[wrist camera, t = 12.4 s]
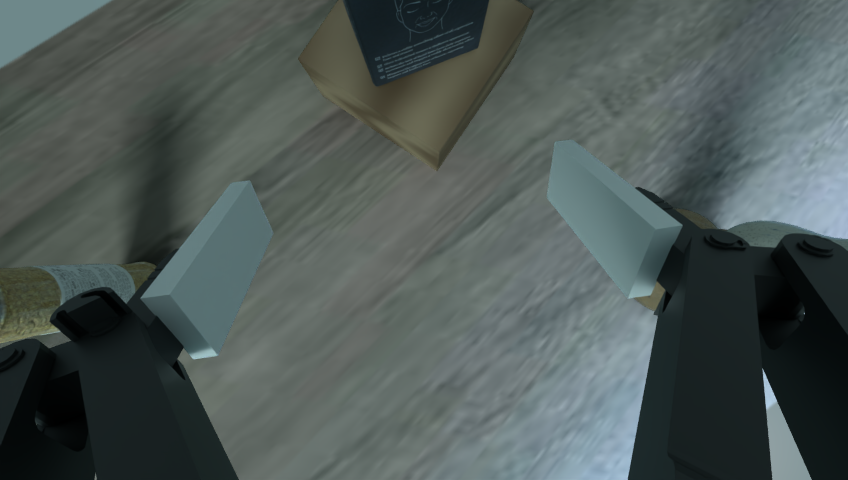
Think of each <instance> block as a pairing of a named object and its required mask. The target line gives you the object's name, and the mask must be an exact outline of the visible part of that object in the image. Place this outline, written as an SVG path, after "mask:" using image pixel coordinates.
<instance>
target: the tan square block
mask: <svg viewBox="0 0 848 480" xmlns="http://www.w3.org/2000/svg"><path fill="white" fill-rule="evenodd" d="M533 12H534V11H533V10H531V9H530V8H528V7H527V6H525V5H523V4H522V3H520V2H519V1H517V0H489V4H488V8H487V12H486V16H485V21H484V25H483V30H482V34H481V38H480V42H479V46H478V48H477V49H475V50H472V51H470V52H467V53H464V54H462V55H459V56H457V57H454V58H451V59H449V60H446V61H444V62H441V63H439V64H436V65H433V66H431V67H428V68H425V69H423V70H420V71H418V72H415V73H413V74H410V75H407V76H405V77H402V78H399V79H397V80H394V81H392V82H389V83H386V84H384V85H381V86H375V85H374V84H373V82H372V78H371V76H370V73H369V71H368V68H367V65H366V63H365V60H364V57H363V55H362V52H361V49H360V47H359V44H358V41H357V39H356V36H355V33H354V30H353V28H352V25H351V23H350V20H349V17H348V14H347V12H346V9H345V6H344V3H343V0H338V1H337V3H336V4H335V6H334V7H333V8H332V10H331V11H330V13H329V14H328V16H327V17H326V19H325V20H324V21H323V23H322V24H321V26H320V27H319V29H318V30H317V32H316V33H315V35H314V36H313V37H312V39H311V40H310V42H309V43H308V45H307V46H306V48H305V49H304V50H303V52H302V53H301V55H300V56H299V58H298V60H299V61H300V63H301V64H302V66H303V67H304V69H305V70H306V72H307V73H308V75H309V76H310V78H311V79H312V81H313V82H314V84H315V85H316V86H317V88H318V89H319V91H320V92H321V94H322V95H323V96H324V97H325V98H327V99H328V100H330V101H331V102H333V103H334V104H336V105H337V106H339V107H340V108H342V109H343V110H345V111H347V112H348V113H350V114H351V115H353V116H354V117H356V118H357V119H359V120H360V121H362V122H363V123H365V124H366V125H368V126H369V127H371V128H372V129H374V130H375V131H377V132H378V133H380V134H381V135H383V136H384V137H386V138H387V139H389V140H390V141H392V142H393V143H395V144H397V145H398V146H400V147H401V148H403V149H404V150H406V151H407V152H409V153H410V154H412V155H413V156H415V157H416V158H418V159H419V160H421V161H422V162H424V163H425V164H427V165H428V166H430V167H431V168H433V169H434V170H436V171H438V169H439V168H440V166H441V165H442V163H443V162H444V160H445V159H446V157H447V156H448V154H449V153H450V151H451V150H452V148H453V147H454V145H455V144H456V142H457V141H458V139H459V138H460V136H461V135H462V133H463V132H464V130H465V129H466V127H467V126H468V124H469V123H470V121H471V120H472V118H473V117H474V115H475V114H476V113H477V111H478V110H479V108H480V107H481V105H482V104H483V102H484V101H485V99H486V98H487V96H488V95H489V93H490V92H491V90H492V89H493V87H494V86H495V84H496V83H497V81H498V80H499V78H500V77H501V75H502V74H503V72H504V71H505V69H506V68H507V66H508V65H509V63H510V62H511V60H512V59H513V57H514V55H515V53H516V51H517V48H518V46H519V44H520V42H521V39H522V37H523V35H524V32H525V30H526V28H527V26H528V23H529V21H530V19H531V17H532V14H533Z"/></svg>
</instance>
